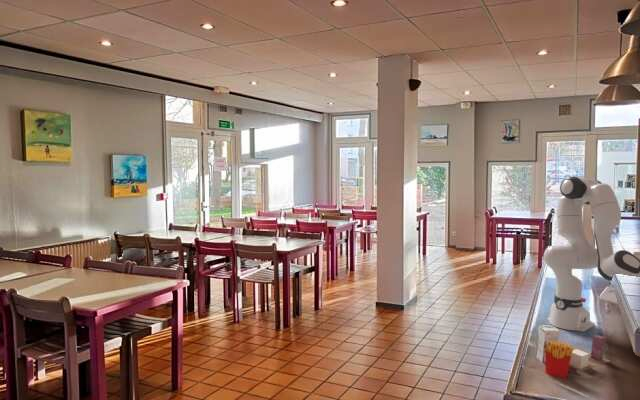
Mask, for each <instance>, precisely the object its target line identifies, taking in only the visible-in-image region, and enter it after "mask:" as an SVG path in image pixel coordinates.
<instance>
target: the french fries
mask: <svg viewBox="0 0 640 400" xmlns="http://www.w3.org/2000/svg"><path fill="white" fill-rule="evenodd" d="M546 346H547V349H546V350H545V361H546V363H545V373H546V374H547V375H549V376H553V377H557V378H563V379H565V378H566V379H567V377H568V373H569V370H568V369H569V364H570V359H571V355H572V352H573V350H574V347H573V346H571V345H569V344H567V343H565V342H562V341H560V342H558V343H557V342H555V343H554V342H553V341H552V342H550V345H548V342H546Z"/></svg>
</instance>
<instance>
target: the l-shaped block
mask: <svg viewBox="0 0 640 400" xmlns="http://www.w3.org/2000/svg"><path fill="white" fill-rule="evenodd" d="M604 346H605V337H604V336H601V335H598V334H597V335H593V336H592V343H591V352H590V353H588V354H589V360H588V366H587V367H584V368H581V369H580V368H577V367H575V366H572V365H570V364H569V369H568V372H572V373H574V374H578V373H581V372H584V371H587V370H590V369H592V368H595V367H599V366H600V365H603V364H605V363H608V362H611V360H609V359H607V358H604V349H605V348H604Z"/></svg>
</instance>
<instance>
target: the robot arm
mask: <svg viewBox="0 0 640 400" xmlns="http://www.w3.org/2000/svg"><path fill="white" fill-rule="evenodd" d="M559 185H560V186H559V190H560V194H561V196H560V197H559V198H558V200H557V205H556V221H557V224H556V225H557V233H558V234H559V236H561V237H562V238H563V239H565V240H567V242H568V243H569V245H559V244H558V245H557V244H556V245H551V246H550V245H549V246H548V247H546V248H545V250H544V252H543V261H544V263H545V264H546V265H547V266H548V267H549V268H550V269H551V270H552V272H553V274H554V277H555V280H556V281H555V294H554V297H553V303H552V304H551V308H550V313H549V316H548V317H547V321H548V322H549V324H550V326H554V327H555V328H557V329H562V330H568V331H577V332H578V331H579V332H586V331H588V330H590V329H591V328H593V327H594V326H596V323H595V322H594V321H592V320H590V319H591V313H590V311H589V310H587V308H586V307H584V304H583V303H586V302H587V298H586V297H582V293H583V283H582V281H581V279H580V278H578V277H577V276H575V275H573V270H591V269H596V268H597V272H598V273H599V275H600V276H601V277H602V278H603V279H604V280H607V281H612V278H613V276H614V274H623V275H628V276H636V277H640V255H637V254H633V253H632V252H630V251H628V250H622V249H621V250H617V251H615V252H614V249H613V243H612V236H613V233H614V231H615V229H616V227H617V226H618V224H619V223H620V221H621V220H622V219H621V218H622V211H621V207H620V204H619V201H618V198H617V196H616V194H615V192H614V190H613V188H612V187H611V185H609V184H608V183H603V182H601V181H600V180H598V179H593V178H590V177H589V178H588V177H580V176H578V177H577V176H568V177H565V178H564V179H563V180H562V181H561V182H560V184H559ZM584 205H589V206H590V210H591V214H592V218H593V229H594V230H593V231H594V232H593V233H594V239H595V240H594V241H595V245H596V247H594V245H592V244H591V243H590V241H589V240H588V238H587V236H586V233H585V229H584V228H585V227H584V221H583V220H584V219H583V217H584V216H583V206H584ZM612 282H613V281H612ZM598 296H599V297H598V299H599V301H600V303H601V304H603V305H605V309H604V313H605V314H607V315H610V313H611V312H612V311H611V309H610V308H611V307H615V308H619V305H618V302H617V298H616V295H615V291H614V287H613V284H610V285H606V286H605V288H604V290H603V291H602V292H601V293H600V295H598ZM619 309H620V308H619Z"/></svg>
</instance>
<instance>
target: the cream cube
mask: <svg viewBox="0 0 640 400" xmlns="http://www.w3.org/2000/svg"><path fill="white" fill-rule="evenodd" d="M589 354H590V353H587V352H585V351H583V350H580V349H577V348H575V349H573V352H572V355H571V359H570V365H572V366H575V367H577V368H580V369H581V368H584V367H587V366H588V360H589Z"/></svg>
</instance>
